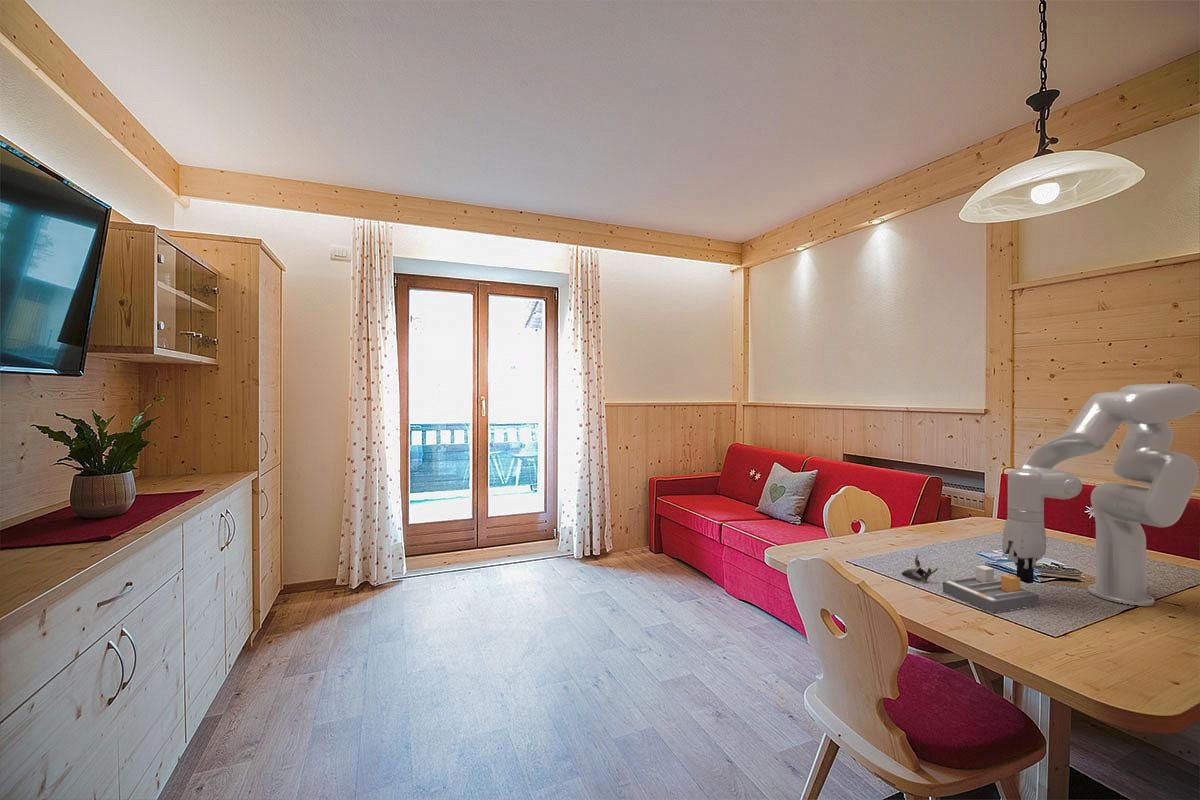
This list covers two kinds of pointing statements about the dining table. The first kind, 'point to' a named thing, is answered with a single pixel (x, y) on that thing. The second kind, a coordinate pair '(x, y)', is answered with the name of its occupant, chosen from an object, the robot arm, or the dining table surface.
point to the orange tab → (1010, 583)
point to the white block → (984, 574)
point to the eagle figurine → (920, 570)
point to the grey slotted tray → (989, 594)
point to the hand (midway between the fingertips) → (1024, 581)
